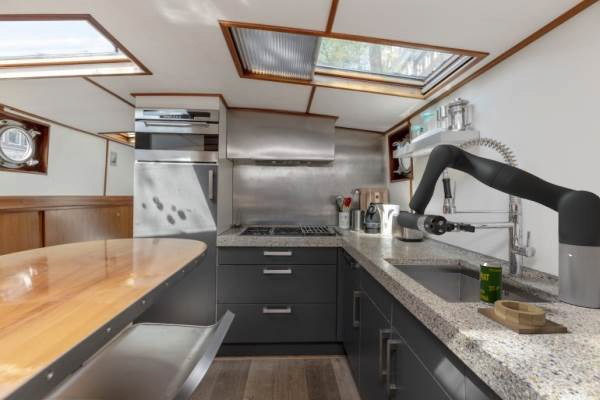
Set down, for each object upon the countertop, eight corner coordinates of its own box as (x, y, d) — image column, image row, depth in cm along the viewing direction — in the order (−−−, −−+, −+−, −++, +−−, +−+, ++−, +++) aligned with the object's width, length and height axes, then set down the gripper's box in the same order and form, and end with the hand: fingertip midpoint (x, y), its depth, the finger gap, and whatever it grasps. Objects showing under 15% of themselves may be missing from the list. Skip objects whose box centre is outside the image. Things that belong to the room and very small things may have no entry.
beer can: (491, 300, 82) (492, 259, 82) (507, 306, 77) (507, 263, 77) (474, 300, 81) (475, 259, 82) (489, 307, 76) (489, 263, 76)
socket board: (518, 311, 73) (518, 298, 73) (567, 331, 61) (567, 316, 62) (477, 312, 72) (477, 298, 72) (518, 333, 60) (519, 317, 60)
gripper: (415, 214, 106) (443, 217, 89) (449, 215, 108) (482, 218, 92) (414, 233, 106) (442, 240, 90) (448, 234, 108) (481, 240, 92)
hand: (462, 229), depth 91 cm, fingers open, 8 cm apart
